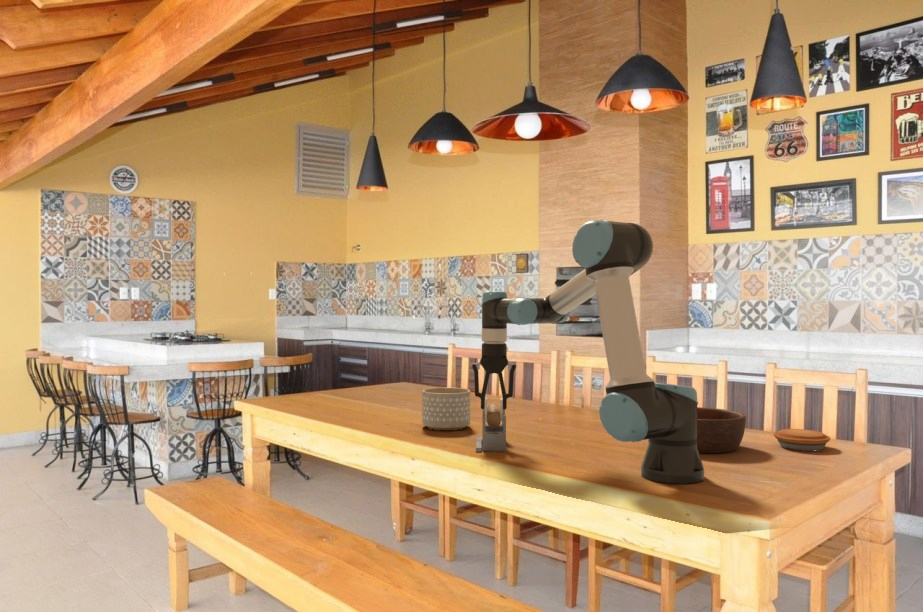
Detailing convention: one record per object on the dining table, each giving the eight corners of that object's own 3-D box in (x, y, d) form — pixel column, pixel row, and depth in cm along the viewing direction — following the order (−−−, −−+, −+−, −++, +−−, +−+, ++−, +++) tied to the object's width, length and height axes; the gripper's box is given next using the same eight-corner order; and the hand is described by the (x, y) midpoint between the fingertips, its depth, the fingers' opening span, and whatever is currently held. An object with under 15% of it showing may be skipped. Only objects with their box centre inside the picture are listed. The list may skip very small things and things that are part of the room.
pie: (800, 441, 226) (800, 425, 226) (842, 450, 211) (842, 433, 211) (761, 444, 220) (761, 428, 220) (802, 454, 206) (802, 437, 206)
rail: (496, 430, 208) (503, 418, 208) (484, 423, 208) (491, 411, 208) (495, 418, 227) (501, 407, 227) (484, 412, 227) (490, 401, 227)
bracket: (506, 452, 207) (506, 417, 207) (475, 451, 208) (475, 417, 208) (504, 439, 226) (504, 407, 226) (476, 439, 227) (476, 407, 227)
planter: (416, 430, 242) (416, 392, 241) (429, 422, 257) (430, 386, 257) (463, 432, 238) (464, 394, 237) (474, 424, 254) (474, 388, 253)
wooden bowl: (688, 458, 201) (688, 421, 200) (642, 441, 225) (642, 408, 225) (764, 453, 207) (764, 418, 207) (712, 437, 231) (712, 405, 231)
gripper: (521, 342, 220) (521, 418, 221) (466, 341, 221) (465, 417, 221) (523, 343, 213) (522, 422, 213) (465, 343, 213) (464, 422, 214)
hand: (493, 420), depth 217 cm, fingers closed on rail, 4 cm apart
